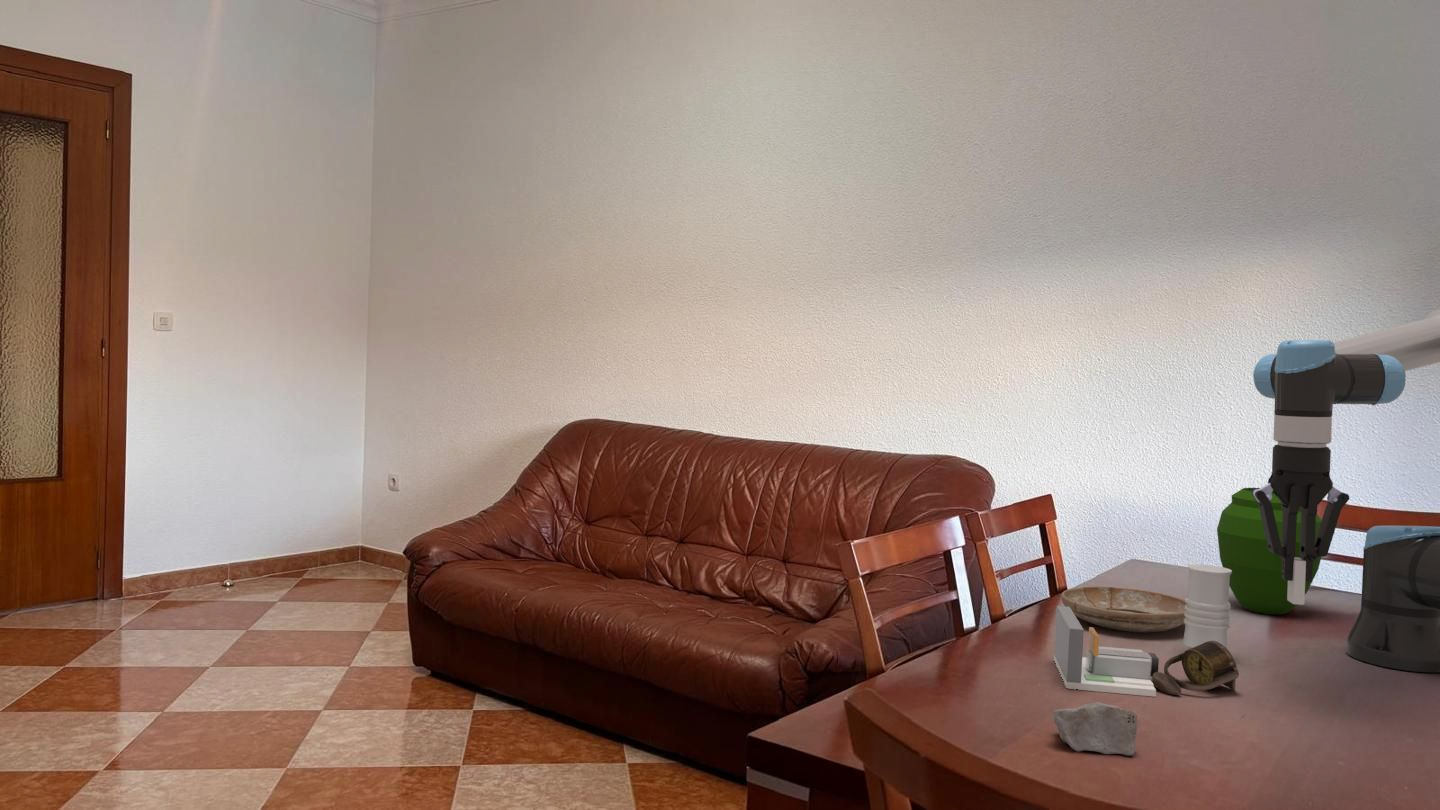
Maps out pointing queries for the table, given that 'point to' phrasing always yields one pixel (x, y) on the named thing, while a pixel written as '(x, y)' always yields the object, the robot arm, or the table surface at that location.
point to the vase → (1256, 555)
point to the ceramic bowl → (1126, 608)
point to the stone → (1098, 728)
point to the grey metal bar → (1114, 653)
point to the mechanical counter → (1200, 669)
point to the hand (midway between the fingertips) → (1295, 602)
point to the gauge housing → (1097, 663)
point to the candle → (1207, 605)
